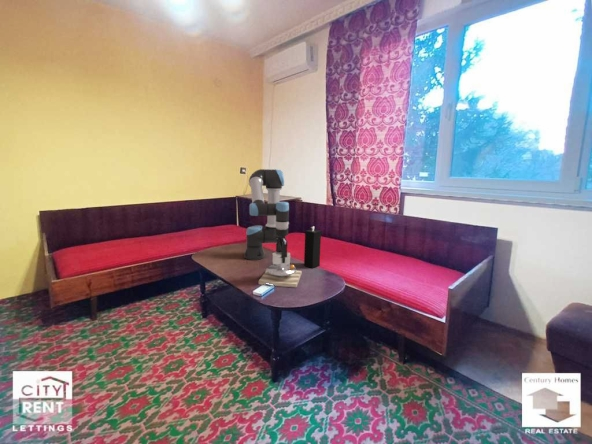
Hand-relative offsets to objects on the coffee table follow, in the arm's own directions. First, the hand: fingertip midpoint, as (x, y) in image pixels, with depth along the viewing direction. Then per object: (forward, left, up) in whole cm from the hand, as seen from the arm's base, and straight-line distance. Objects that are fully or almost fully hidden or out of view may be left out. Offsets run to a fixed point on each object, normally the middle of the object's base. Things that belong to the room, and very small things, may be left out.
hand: (281, 265), depth 176 cm
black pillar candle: (-28, +16, -9) cm, 33 cm away
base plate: (0, 0, -8) cm, 8 cm away
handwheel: (0, 0, -3) cm, 3 cm away
